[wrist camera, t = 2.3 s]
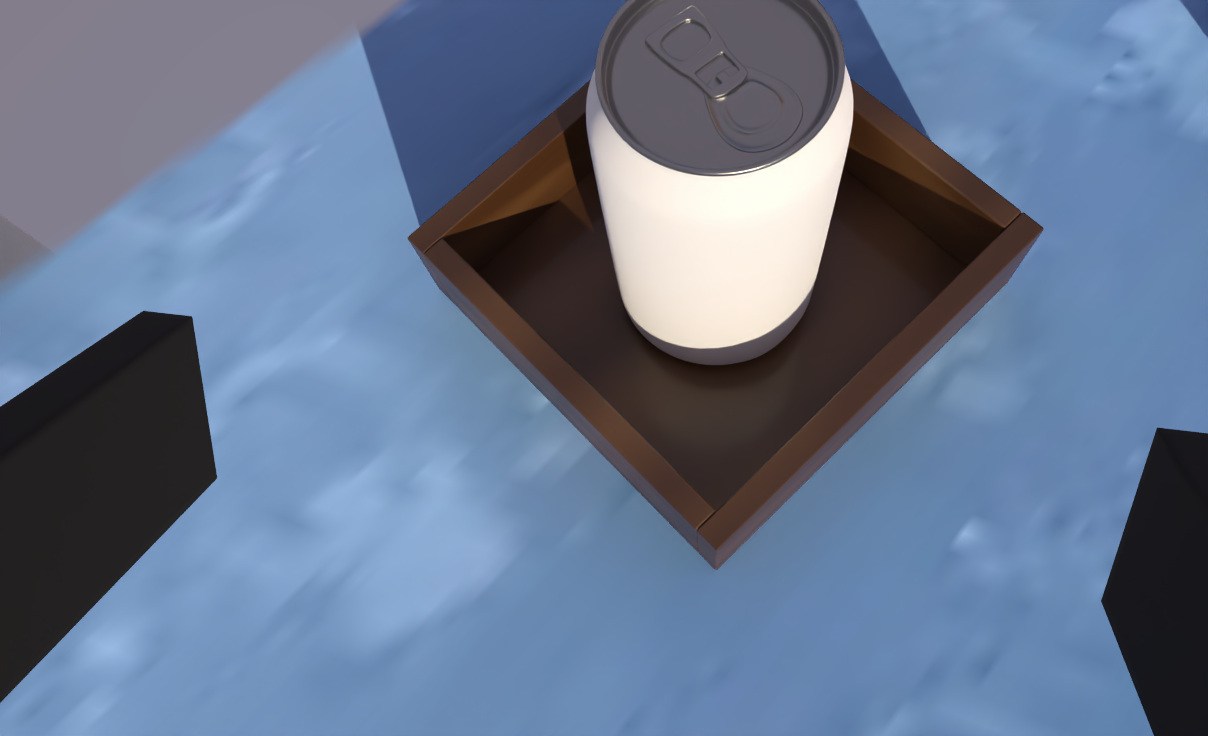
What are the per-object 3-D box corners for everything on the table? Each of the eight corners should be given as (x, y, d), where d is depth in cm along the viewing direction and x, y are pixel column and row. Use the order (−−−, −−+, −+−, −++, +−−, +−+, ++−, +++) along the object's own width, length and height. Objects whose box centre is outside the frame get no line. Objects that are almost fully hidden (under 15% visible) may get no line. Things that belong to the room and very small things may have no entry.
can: (701, 409, 33) (697, 247, 22) (580, 268, 35) (519, 53, 24) (854, 290, 34) (927, 75, 22) (727, 159, 36) (736, -100, 24)
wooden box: (438, 287, 36) (406, 237, 32) (714, 45, 38) (715, -29, 34) (715, 571, 32) (717, 550, 28) (1007, 282, 34) (1045, 228, 30)
